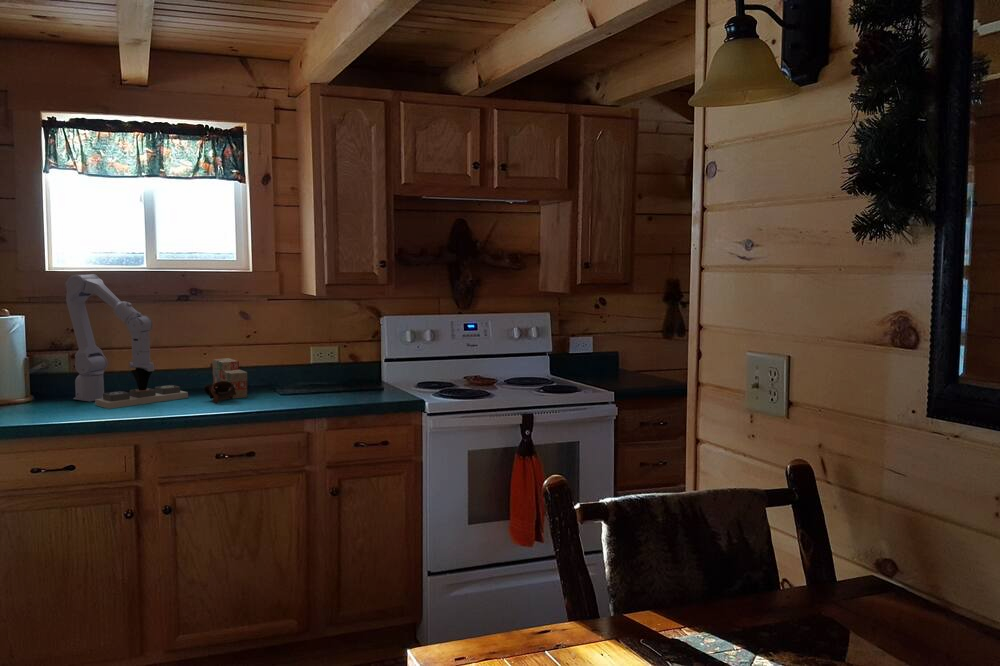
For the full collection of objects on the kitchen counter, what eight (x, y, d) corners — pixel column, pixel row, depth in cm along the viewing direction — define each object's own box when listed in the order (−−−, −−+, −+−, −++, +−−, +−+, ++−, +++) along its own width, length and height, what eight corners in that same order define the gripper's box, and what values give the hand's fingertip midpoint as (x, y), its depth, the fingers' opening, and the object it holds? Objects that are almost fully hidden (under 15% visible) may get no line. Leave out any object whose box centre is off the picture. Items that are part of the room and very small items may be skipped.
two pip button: (112, 399, 268) (112, 394, 268) (107, 397, 271) (106, 393, 271) (125, 397, 272) (125, 392, 271) (120, 396, 274) (119, 391, 274)
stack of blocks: (248, 397, 288) (247, 363, 286) (230, 399, 284) (229, 365, 283) (229, 389, 305) (228, 357, 304) (212, 390, 301) (211, 358, 300)
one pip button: (164, 392, 282) (164, 387, 282) (158, 390, 285) (158, 386, 284) (176, 390, 285) (176, 386, 285) (170, 389, 288) (170, 385, 288)
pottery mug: (241, 400, 285) (241, 382, 280) (227, 416, 277) (227, 398, 272) (210, 390, 286) (209, 372, 281) (196, 406, 278) (195, 388, 273)
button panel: (108, 408, 264) (107, 396, 264) (95, 405, 271) (94, 393, 271) (188, 397, 286) (187, 386, 285) (174, 394, 292) (173, 383, 292)
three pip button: (139, 395, 275) (139, 391, 275) (133, 394, 278) (133, 389, 278) (151, 394, 278) (151, 389, 278) (145, 392, 281) (145, 388, 281)
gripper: (162, 351, 275) (163, 390, 276) (142, 348, 284) (144, 386, 286) (142, 353, 270) (143, 393, 271) (122, 350, 279) (124, 388, 280)
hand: (142, 389), depth 278 cm, fingers closed, pressing on three pip button
